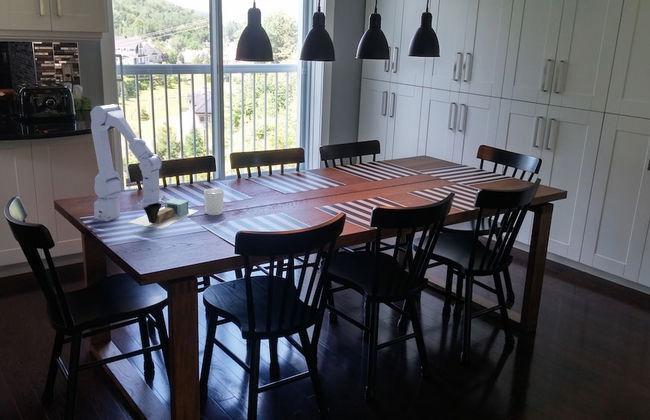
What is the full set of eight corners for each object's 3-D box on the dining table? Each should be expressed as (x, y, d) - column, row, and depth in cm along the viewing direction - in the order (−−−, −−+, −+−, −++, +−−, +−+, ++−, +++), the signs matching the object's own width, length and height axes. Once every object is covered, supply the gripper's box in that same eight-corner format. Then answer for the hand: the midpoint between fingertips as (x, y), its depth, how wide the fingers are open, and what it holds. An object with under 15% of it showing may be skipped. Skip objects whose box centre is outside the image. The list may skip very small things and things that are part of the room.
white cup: (214, 210, 252) (214, 187, 250) (227, 214, 248) (227, 191, 245) (200, 214, 247) (199, 190, 244) (212, 218, 242) (212, 194, 239)
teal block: (180, 216, 239) (179, 204, 238) (165, 214, 242) (164, 202, 240) (188, 212, 245) (188, 200, 243) (173, 210, 247) (173, 198, 245)
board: (161, 230, 225) (161, 228, 225) (127, 224, 230) (127, 222, 229) (198, 212, 248) (198, 210, 248) (167, 207, 253) (167, 205, 253)
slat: (158, 223, 230) (158, 215, 229) (152, 222, 231) (151, 213, 230) (173, 216, 239) (173, 208, 238) (167, 215, 240) (167, 207, 239)
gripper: (148, 193, 216) (149, 229, 220) (171, 184, 229) (172, 218, 233) (132, 191, 219) (133, 226, 223) (156, 182, 232) (157, 216, 236)
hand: (152, 222), depth 228 cm, fingers closed
